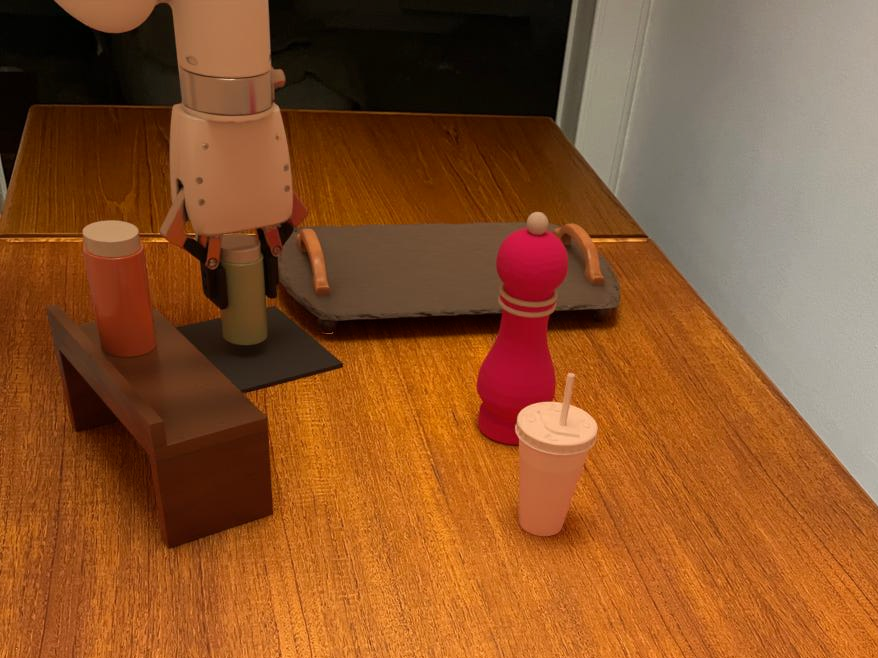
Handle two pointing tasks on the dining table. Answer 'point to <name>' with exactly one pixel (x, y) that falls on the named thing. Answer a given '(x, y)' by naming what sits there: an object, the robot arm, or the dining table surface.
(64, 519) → the dining table surface
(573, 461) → the smoothie
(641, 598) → the dining table surface
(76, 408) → the spice shelf
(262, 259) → the green shaker
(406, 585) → the dining table surface
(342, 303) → the serving tray
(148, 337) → the terracotta shaker
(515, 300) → the pepper mill
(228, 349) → the mat
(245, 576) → the dining table surface
